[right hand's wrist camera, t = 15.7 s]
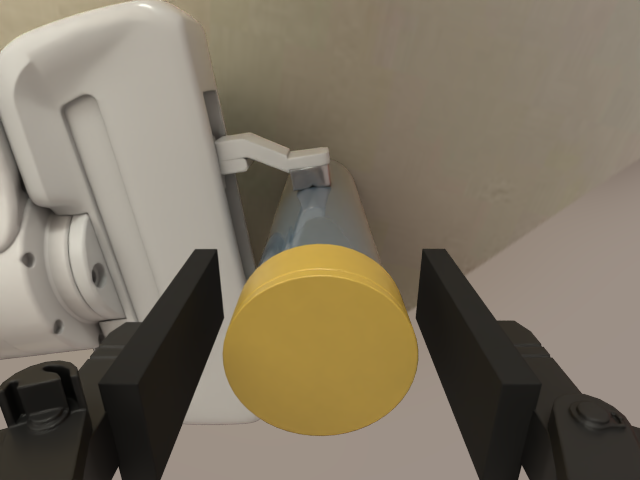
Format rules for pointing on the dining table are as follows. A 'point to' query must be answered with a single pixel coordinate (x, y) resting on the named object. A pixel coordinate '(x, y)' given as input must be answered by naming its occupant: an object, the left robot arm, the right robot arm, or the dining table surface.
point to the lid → (320, 342)
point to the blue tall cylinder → (321, 217)
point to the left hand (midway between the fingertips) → (338, 225)
